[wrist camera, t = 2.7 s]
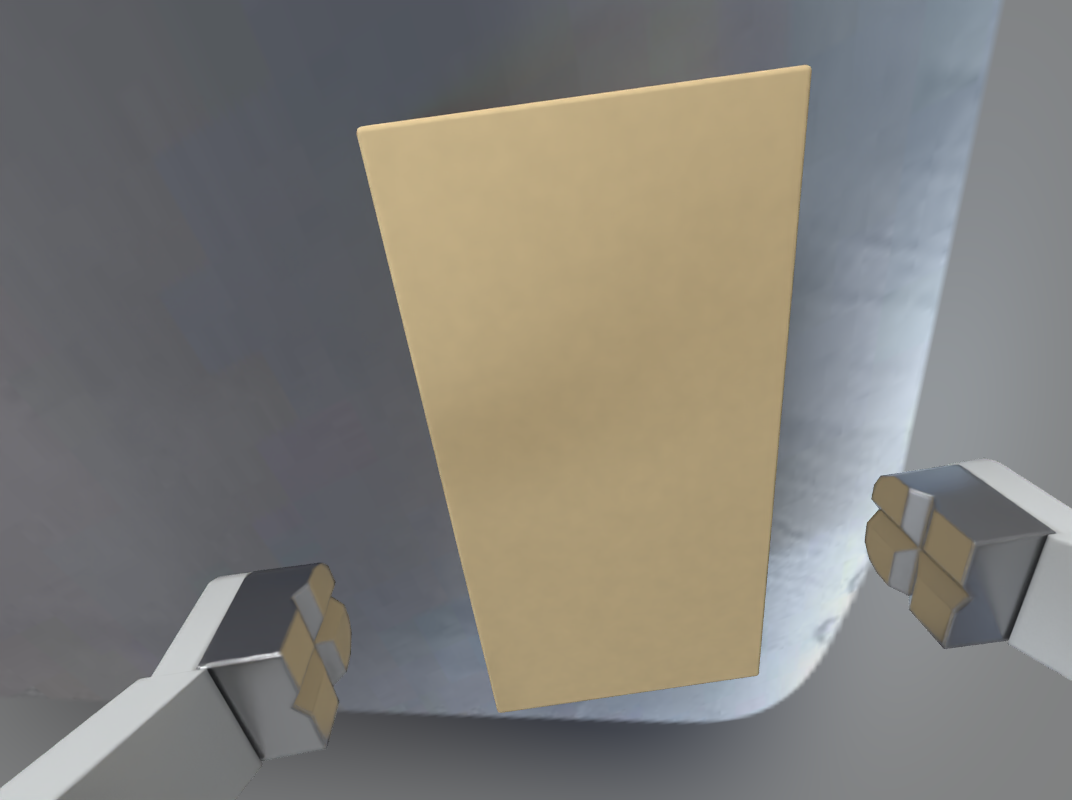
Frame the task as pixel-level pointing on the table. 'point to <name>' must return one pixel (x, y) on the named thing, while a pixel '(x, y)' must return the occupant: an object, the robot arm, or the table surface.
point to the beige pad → (603, 367)
